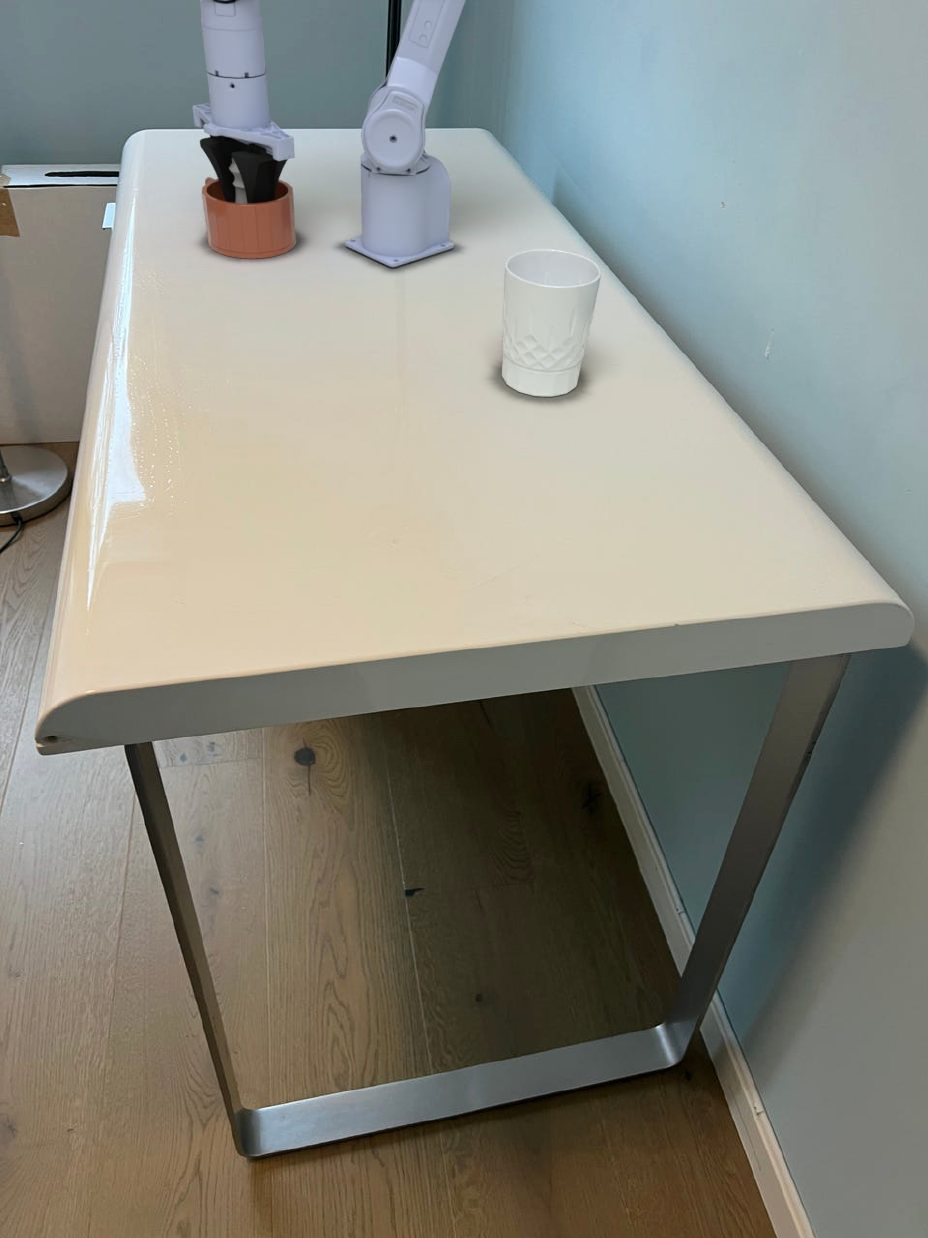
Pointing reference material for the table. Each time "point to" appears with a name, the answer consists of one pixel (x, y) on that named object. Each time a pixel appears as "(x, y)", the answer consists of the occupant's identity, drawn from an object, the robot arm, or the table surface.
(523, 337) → the white cup
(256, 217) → the mug
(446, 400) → the table surface
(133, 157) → the table surface
